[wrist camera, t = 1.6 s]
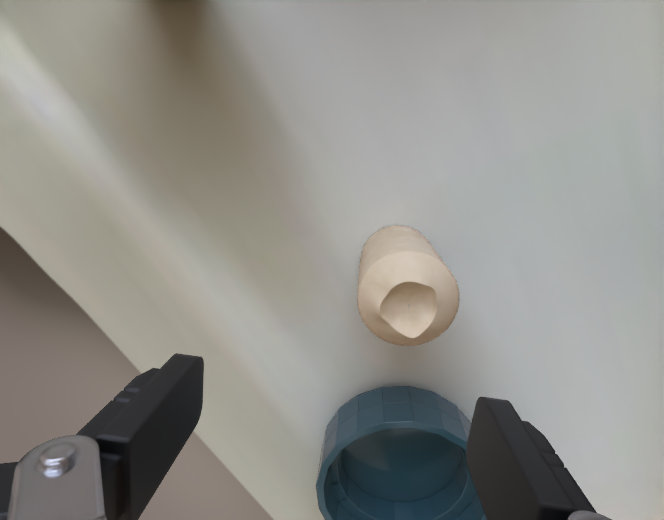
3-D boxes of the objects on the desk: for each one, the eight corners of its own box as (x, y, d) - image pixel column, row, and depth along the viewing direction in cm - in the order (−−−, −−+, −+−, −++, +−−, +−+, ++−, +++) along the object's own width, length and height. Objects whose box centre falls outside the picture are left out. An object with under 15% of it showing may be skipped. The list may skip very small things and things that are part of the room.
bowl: (446, 361, 31) (460, 398, 26) (497, 487, 34) (519, 542, 29) (299, 409, 33) (288, 452, 29) (358, 523, 36) (356, 579, 31)
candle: (432, 293, 30) (464, 359, 20) (361, 294, 30) (358, 359, 20) (434, 222, 28) (468, 256, 19) (359, 225, 29) (354, 260, 19)
